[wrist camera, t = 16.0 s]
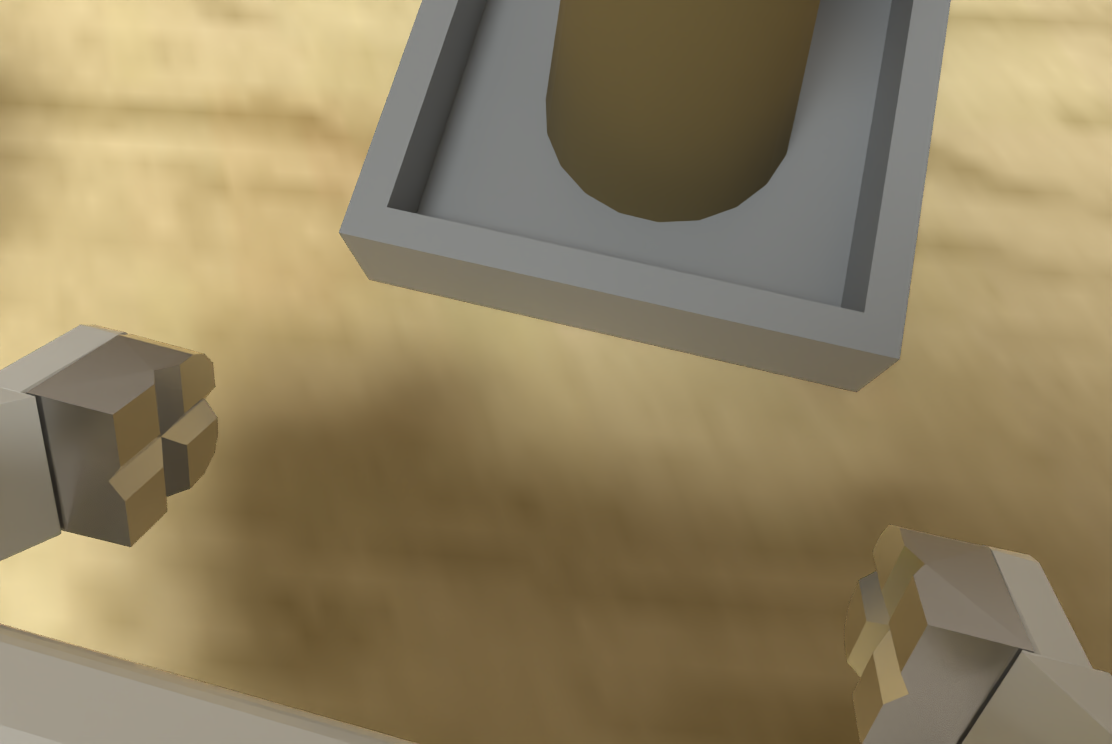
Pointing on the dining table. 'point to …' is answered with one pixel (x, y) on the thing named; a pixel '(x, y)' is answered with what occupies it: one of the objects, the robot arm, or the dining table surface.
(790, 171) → the shaker tray
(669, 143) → the pepper shaker
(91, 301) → the dining table surface
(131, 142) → the dining table surface
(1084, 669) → the robot arm
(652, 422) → the dining table surface
